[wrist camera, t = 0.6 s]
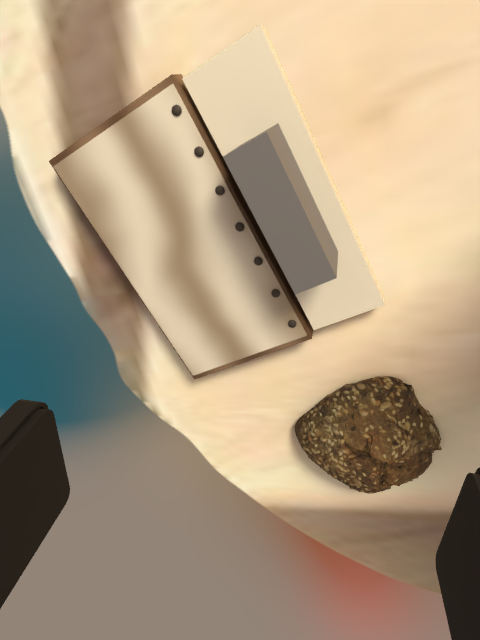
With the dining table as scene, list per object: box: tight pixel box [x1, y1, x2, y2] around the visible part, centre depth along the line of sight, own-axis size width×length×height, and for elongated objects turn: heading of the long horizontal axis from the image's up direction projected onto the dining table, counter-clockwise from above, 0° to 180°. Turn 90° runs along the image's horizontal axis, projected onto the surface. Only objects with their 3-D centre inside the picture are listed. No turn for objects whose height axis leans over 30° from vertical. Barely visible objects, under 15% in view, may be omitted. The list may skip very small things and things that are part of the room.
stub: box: [182, 25, 385, 330], centre depth 30 cm, size 6×21×7 cm, turn 29°
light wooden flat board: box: [49, 74, 313, 379], centre depth 36 cm, size 12×22×2 cm, turn 29°
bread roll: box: [295, 376, 442, 493], centre depth 41 cm, size 13×12×5 cm
